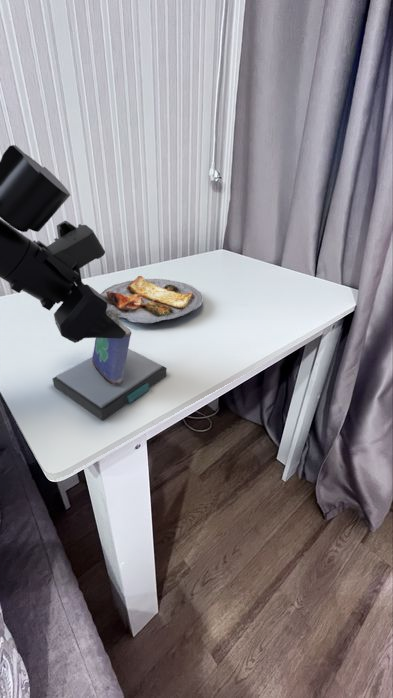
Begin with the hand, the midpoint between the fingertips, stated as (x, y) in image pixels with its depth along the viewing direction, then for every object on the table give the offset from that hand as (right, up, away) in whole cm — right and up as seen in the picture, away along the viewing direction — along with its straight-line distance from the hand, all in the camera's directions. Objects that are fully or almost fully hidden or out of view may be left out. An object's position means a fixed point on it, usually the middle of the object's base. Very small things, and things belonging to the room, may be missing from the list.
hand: (113, 321), depth 50 cm
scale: (-2, -10, +5) cm, 11 cm away
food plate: (+1, +7, +31) cm, 32 cm away
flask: (-2, -8, +4) cm, 9 cm away
